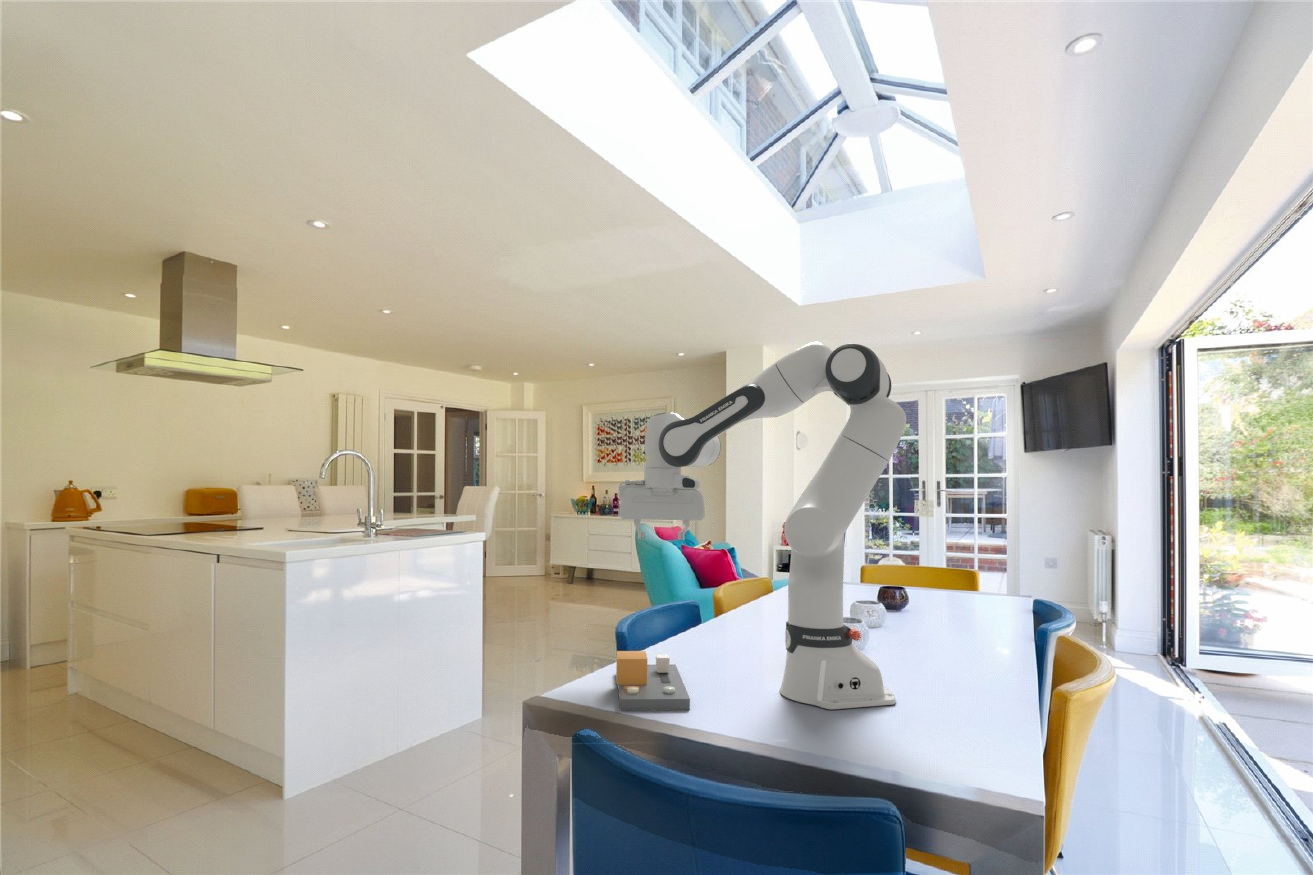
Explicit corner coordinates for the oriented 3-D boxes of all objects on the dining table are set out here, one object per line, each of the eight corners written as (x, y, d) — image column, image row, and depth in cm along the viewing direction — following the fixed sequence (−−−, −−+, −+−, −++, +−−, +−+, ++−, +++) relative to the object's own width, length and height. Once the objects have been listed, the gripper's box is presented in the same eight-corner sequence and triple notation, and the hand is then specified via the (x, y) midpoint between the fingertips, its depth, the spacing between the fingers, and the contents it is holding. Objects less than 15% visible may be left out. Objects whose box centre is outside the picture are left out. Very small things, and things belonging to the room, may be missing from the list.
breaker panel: (675, 673, 145) (675, 660, 146) (689, 709, 122) (690, 694, 122) (617, 673, 144) (617, 661, 145) (619, 710, 120) (620, 694, 121)
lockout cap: (645, 675, 136) (645, 651, 136) (646, 684, 130) (647, 659, 130) (616, 675, 136) (616, 651, 136) (616, 684, 130) (617, 659, 130)
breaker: (667, 668, 141) (668, 654, 141) (669, 672, 138) (669, 658, 138) (655, 668, 141) (656, 654, 141) (656, 672, 138) (657, 658, 138)
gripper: (619, 479, 152) (617, 539, 150) (706, 481, 153) (705, 541, 152) (618, 480, 158) (617, 537, 157) (702, 481, 159) (701, 538, 158)
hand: (661, 539), depth 154 cm, fingers open, 8 cm apart
